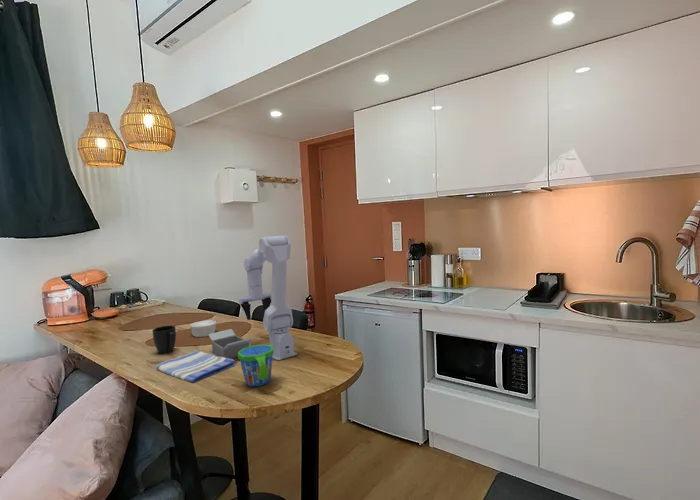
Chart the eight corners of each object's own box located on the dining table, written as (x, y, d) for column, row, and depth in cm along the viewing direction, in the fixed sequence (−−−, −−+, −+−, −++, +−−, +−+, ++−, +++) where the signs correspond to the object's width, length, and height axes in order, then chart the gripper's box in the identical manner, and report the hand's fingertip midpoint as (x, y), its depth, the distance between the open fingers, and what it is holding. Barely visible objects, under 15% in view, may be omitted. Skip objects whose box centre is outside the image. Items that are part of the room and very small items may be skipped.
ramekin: (218, 335, 167) (217, 323, 167) (191, 339, 162) (190, 328, 162) (215, 329, 177) (214, 318, 177) (190, 333, 173) (189, 322, 172)
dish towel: (200, 355, 142) (199, 348, 142) (238, 366, 128) (237, 358, 128) (154, 371, 128) (153, 363, 128) (191, 385, 114) (190, 376, 114)
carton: (250, 353, 140) (249, 341, 139) (224, 360, 133) (223, 348, 133) (237, 346, 149) (236, 335, 149) (212, 353, 143) (211, 341, 142)
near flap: (248, 341, 139) (248, 342, 139) (224, 347, 133) (224, 348, 133) (252, 337, 136) (252, 338, 136) (227, 343, 130) (227, 345, 130)
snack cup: (238, 376, 118) (235, 345, 117) (271, 370, 122) (269, 340, 121) (242, 396, 104) (240, 361, 103) (280, 388, 107) (277, 354, 107)
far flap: (231, 328, 152) (231, 329, 152) (208, 334, 146) (208, 335, 146) (235, 334, 149) (235, 335, 149) (212, 340, 143) (212, 341, 143)
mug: (162, 358, 139) (160, 334, 138) (151, 352, 148) (149, 329, 147) (184, 352, 145) (182, 328, 144) (172, 346, 153) (170, 324, 153)
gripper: (266, 282, 161) (268, 312, 162) (234, 287, 152) (236, 319, 153) (274, 283, 156) (276, 315, 156) (241, 289, 146) (243, 322, 147)
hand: (257, 317), depth 154 cm, fingers open, 7 cm apart
